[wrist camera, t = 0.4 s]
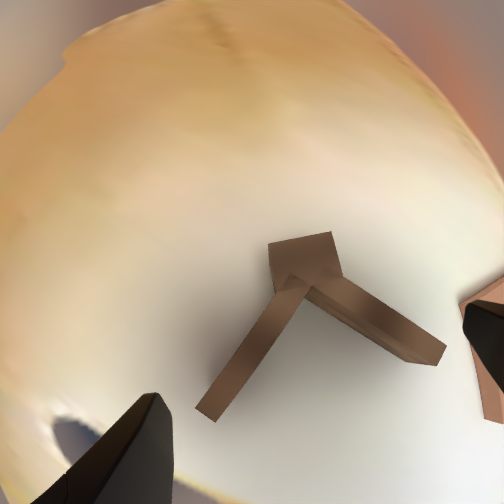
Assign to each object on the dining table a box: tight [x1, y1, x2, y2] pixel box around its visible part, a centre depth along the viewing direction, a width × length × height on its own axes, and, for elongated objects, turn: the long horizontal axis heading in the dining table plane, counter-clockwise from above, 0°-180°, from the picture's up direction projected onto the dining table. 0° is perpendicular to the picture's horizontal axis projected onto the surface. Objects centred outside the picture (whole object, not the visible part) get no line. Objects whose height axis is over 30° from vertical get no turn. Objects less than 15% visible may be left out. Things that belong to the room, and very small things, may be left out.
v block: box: [195, 231, 447, 423], centre depth 19 cm, size 10×16×5 cm, turn 101°
